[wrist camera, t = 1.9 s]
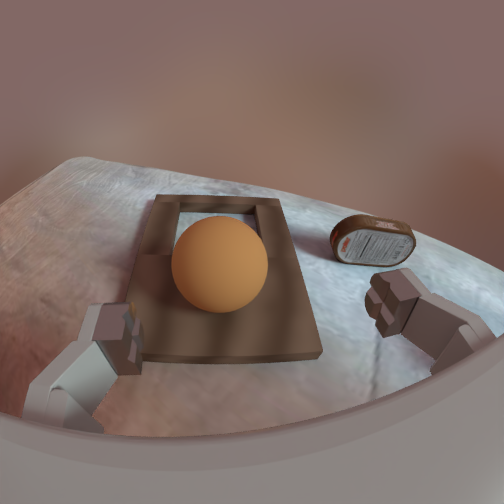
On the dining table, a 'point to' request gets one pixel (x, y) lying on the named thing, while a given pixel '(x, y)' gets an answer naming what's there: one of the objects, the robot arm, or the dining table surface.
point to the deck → (229, 323)
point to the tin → (372, 241)
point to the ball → (219, 264)
